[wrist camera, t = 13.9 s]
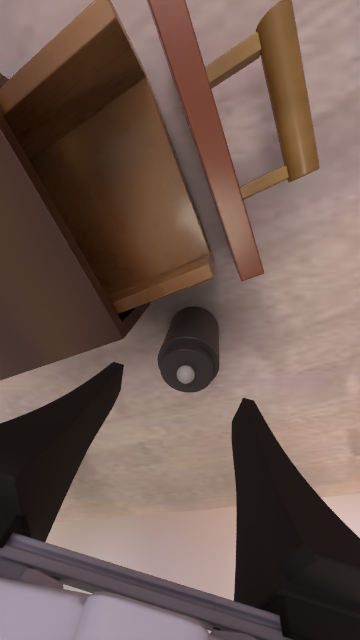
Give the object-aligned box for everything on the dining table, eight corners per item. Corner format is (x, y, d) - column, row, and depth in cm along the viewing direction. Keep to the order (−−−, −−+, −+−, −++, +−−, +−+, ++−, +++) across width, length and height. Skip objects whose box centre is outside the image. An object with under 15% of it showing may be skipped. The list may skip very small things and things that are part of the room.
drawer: (253, -34, 11) (283, -236, 6) (307, 233, 15) (350, 242, 10) (17, 149, 15) (-71, 120, 11) (111, 310, 20) (78, 340, 15)
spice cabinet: (61, 113, 15) (-54, 37, 9) (153, 299, 20) (123, 338, 13) (-58, 205, 19) (-196, 200, 13) (43, 341, 24) (-20, 387, 17)
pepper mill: (167, 342, 21) (146, 395, 15) (176, 301, 19) (157, 342, 13) (210, 354, 21) (208, 413, 15) (224, 314, 19) (229, 362, 13)
